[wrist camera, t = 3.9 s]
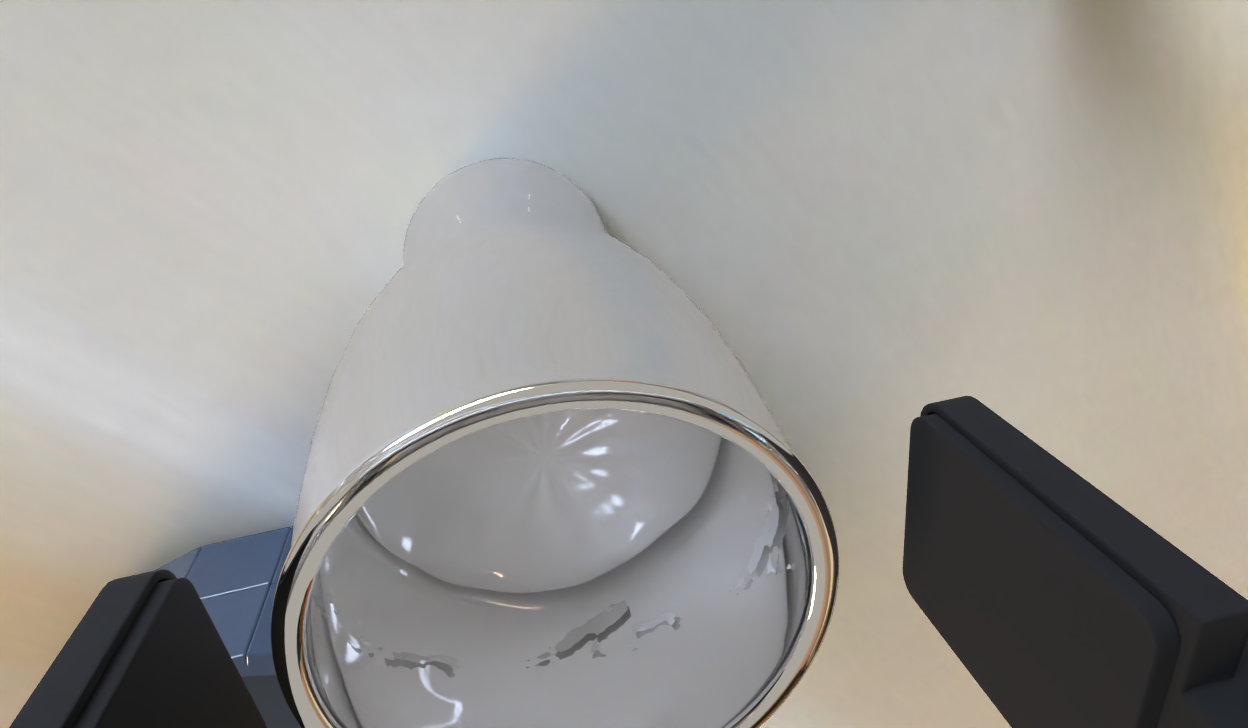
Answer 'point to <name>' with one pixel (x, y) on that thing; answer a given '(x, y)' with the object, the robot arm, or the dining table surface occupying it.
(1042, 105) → the dining table surface
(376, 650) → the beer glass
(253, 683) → the bowl
